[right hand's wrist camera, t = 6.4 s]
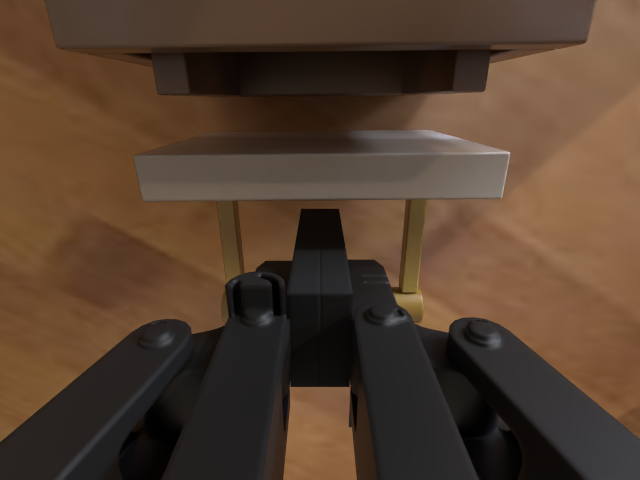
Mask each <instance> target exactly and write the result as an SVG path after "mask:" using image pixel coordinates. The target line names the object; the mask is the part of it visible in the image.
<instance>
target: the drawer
mask: <svg viewBox="0 0 640 480" xmlns="http://www.w3.org/2000/svg"><path fill="white" fill-rule="evenodd" d="M490 54H491V50H395V51H297V52H199V53H151V57H152V63H153V69H154V76H155V82H156V88H157V93H158V94H159V95H174V96H208V97H281V96H386V95H431V94H451V93H472V92H483V91H485V87H486V81H487V74H488V68H489V61H490ZM509 158H510V152H508V151H504V150H501V149H497V148H493V147H490V146H486V145H482V144H479V143H475V142H472V141H468V140H464V139H461V138H457V137H453V136H450V135H446V134H443V133H439V132H435V131H432V130H335V131H224V132H211V133H207V134H204V135H201V136H197V137H194V138H191V139H187V140H184V141H180V142H177V143H174V144H170V145H167V146H164V147H160V148H157V149H154V150H150V151H147V152H143V153H140V154H137V155H134V162H135V167H136V172H137V177H138V182H139V187H140V192H141V197H142V200H143V201H145V202H157V201H217V209H218V218H219V226H220V234H221V242H222V251H223V259H224V267H225V275H226V284H227V282H228V281H229V280H230V279H232V278H234V277H236V276H238V275H241V274H245V272H244V262H243V252H242V241H241V231H240V221H239V211H238V201H282V200H406V206H405V218H404V229H403V241H402V253H401V265H400V277H399V287H391V289H392V291H393V294H394V297H395V299H396V302H397V305H399V306H400V307H402V308H404V309H405V310H407V311H408V313H409V314H410V315H411V317H412V319H413V322H414V323H420V322H421V321H422V318H423V312H424V304H423V297H422V293H421V290H420V289H419V288H418V280H419V270H420V261H421V252H422V242H423V233H424V224H425V214H426V205H427V199H500V198H502V195H503V190H504V185H505V179H506V174H507V169H508V163H509ZM228 317H229V316H228V307H227V298H226V290H225V291H224V294H223V298H222V318H223V321H224V323H225V324H226V322H227V320H228Z"/></svg>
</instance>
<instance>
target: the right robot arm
mask: <svg viewBox="0 0 640 480" xmlns="http://www.w3.org/2000/svg"><path fill="white" fill-rule="evenodd" d="M225 290H226V298H227V307H228V316H229V317H228V320H227V322H226V325H225V326H223V327H220V328H218V329H214V330H211V331H206V332H201V333H196V334H192V333H191V327H190V326H189V325H188V324H187V323H186V322H183V321H180V320H177V319H164V320H157V321H153V322H151V323H148V324H146V325H143V326H141V327H139V328H138V329H136V330H135V331H133V332H132V333H130V334H129V335H128V336H127V337H126V338H124V339H123V340H122V341H121V342H120V343H118V344H117V345H116V346H115V347H114V348H112V349H111V350H110V351H109V352H108V353H106V354H105V355H104V356H103V357H102V358H100V359H99V360H98V361H97V362H96V363H94V364H93V365H92V366H91V367H90V368H88V369H87V370H86V371H85V372H84V373H82V374H81V375H80V376H79V377H78V378H76V379H75V380H74V381H73V382H72V383H70V384H69V385H68V386H67V387H66V388H65V389H63V390H62V391H61V392H60V393H59V394H57V395H56V396H55V397H54V398H53V399H51V400H50V401H49V402H48V403H47V404H45V405H44V406H43V407H42V408H41V409H39V410H38V411H37V412H36V413H35V414H33V415H32V416H31V417H30V418H29V419H27V420H26V421H25V422H24V423H23V424H21V425H20V426H19V427H18V428H17V429H15V430H14V431H13V432H12V433H11V434H10V435H8V436H7V437H6V438H5V439H4V440H2V441H1V442H0V480H283V474H284V464H285V453H286V442H287V432H288V421H289V411H290V389H289V387H290V382H291V387H349V383H350V385H351V389H350V413H349V427H352V431H353V442H354V452H355V463H356V474H357V480H640V439H639V438H638V437H637V436H635V435H634V434H633V433H632V432H631V431H629V430H628V429H627V428H626V427H624V426H623V425H622V424H621V423H620V422H618V421H617V420H616V419H615V418H614V417H612V416H611V415H610V414H609V413H608V412H606V411H605V410H604V409H603V408H602V407H600V406H599V405H598V404H597V403H596V402H594V401H593V400H592V399H591V398H589V397H588V396H587V395H586V394H585V393H583V392H582V391H581V390H580V389H579V388H577V387H576V386H575V385H574V384H573V383H571V382H570V381H569V380H568V379H567V378H565V377H564V376H563V375H562V374H561V373H559V372H558V371H557V370H556V369H554V368H553V367H552V366H551V365H550V364H548V363H547V362H546V361H545V360H544V359H542V358H541V357H540V356H539V355H538V354H536V353H535V352H534V351H533V350H532V349H530V348H529V347H528V346H527V345H526V344H524V343H523V342H522V341H521V340H520V339H518V338H517V337H516V336H515V335H513V334H512V333H511V332H510V331H508V330H507V329H505V328H504V327H502V326H501V325H499V324H496V323H494V322H491V321H489V320H486V319H482V318H481V319H480V318H461V319H458V320H455V321H454V322H453V323H452V324H451V325H450V328H449V333H447V332H442V331H437V330H432V329H428V328H424V327H421V326H419V325H416V324H414V322H413V319H412V317H411V315H410V314H409V313H408V311H407V310H405V309H404V308H402V307H400V306H399V305H397V302H396V299H395V297H394V294H393V291H392V289H391V286H390V284H389V281H388V278H387V277H386V273H385V270H384V267H383V266H382V265H380V264H379V263H378V262H377V261H375V260H347V255H346V249H345V243H344V237H343V231H342V225H341V219H340V213H339V209H301V214H300V220H299V225H298V231H297V237H296V243H295V249H294V255H293V261H265V262H264V263H263V264H261V265H260V266H259V267H258V268H257V269H256V272H249V273H245V274H241V275H238V276H236V277H234V278H232V279H230V280H229V281H228V282H227V284H226V285H225Z"/></svg>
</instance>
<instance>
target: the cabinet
mask: <svg viewBox="0 0 640 480" xmlns="http://www.w3.org/2000/svg"><path fill="white" fill-rule="evenodd" d="M596 1H597V0H45V4H46V8H47V12H48V16H49V20H50V24H51V28H52V32H53V36H54V40H55V44H56V46H57V48H59V49H62V50H67V51H72V52H78V53H83V54H89V55H94V56H99V57H104V58H109V59H114V60H120V61H125V62H130V63H135V64H140V65H145V66H150V67H153V63H152V57H151V53H199V52H297V51H395V50H491V54H490V61H489V64H490V63H495V62H499V61H504V60H509V59H513V58H518V57H523V56H527V55H532V54H536V53H541V52H546V51H550V50H554V49H561V48H566V47H570V46H575V45H580V44H583V43H585V42H586V41H587V39H588V35H589V31H590V27H591V22H592V18H593V14H594V10H595V6H596Z"/></svg>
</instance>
